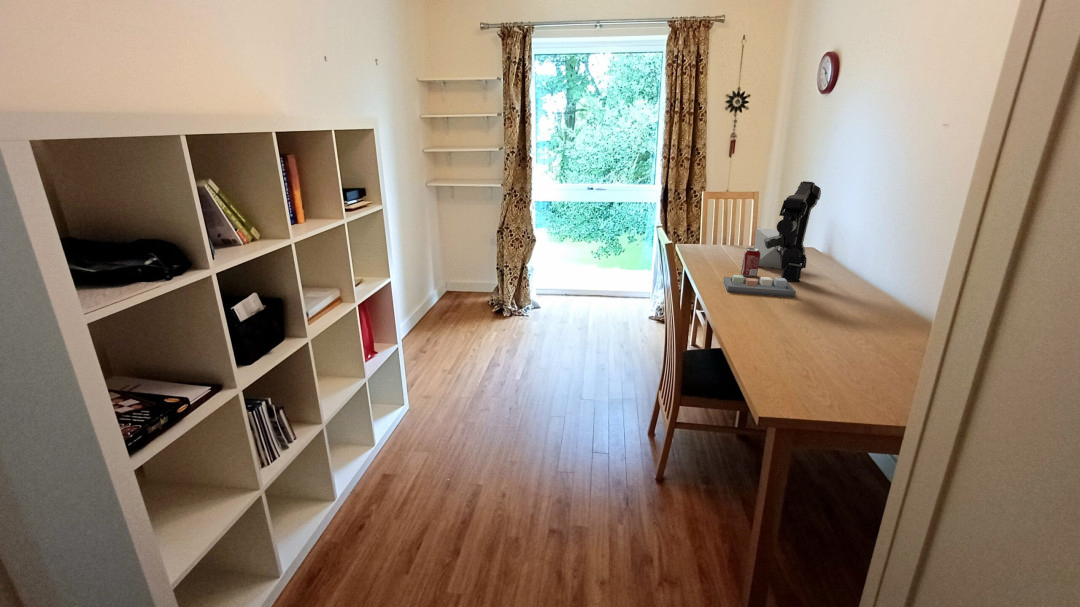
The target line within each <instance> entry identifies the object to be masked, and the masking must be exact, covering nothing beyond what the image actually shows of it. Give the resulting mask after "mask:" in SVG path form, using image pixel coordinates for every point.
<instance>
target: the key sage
mask: <svg viewBox="0 0 1080 607" xmlns="http://www.w3.org/2000/svg"><path fill="white" fill-rule="evenodd" d="M731 277H732V282H733V283H736V284H743V282H744V278H745V276H743V275H742V274H732V276H731Z"/></svg>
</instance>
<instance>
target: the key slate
mask: <svg viewBox="0 0 1080 607" xmlns="http://www.w3.org/2000/svg"><path fill="white" fill-rule="evenodd" d="M773 280H774V285H775V286H776V287H786V284H787V282H788V281H787V280H786V279H785V278H782V277H774V279H773Z"/></svg>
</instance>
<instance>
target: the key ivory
mask: <svg viewBox="0 0 1080 607" xmlns="http://www.w3.org/2000/svg"><path fill="white" fill-rule="evenodd" d="M759 279H760V284H761V285H762V286H772V281H773V280H774V279H772V277H770V276H760V277H759Z"/></svg>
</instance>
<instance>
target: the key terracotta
mask: <svg viewBox="0 0 1080 607" xmlns="http://www.w3.org/2000/svg"><path fill="white" fill-rule="evenodd" d="M745 278H746V283H745V284H746V286H754V287H757V283H758V281H757V279H758V278H754V277H745Z"/></svg>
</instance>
